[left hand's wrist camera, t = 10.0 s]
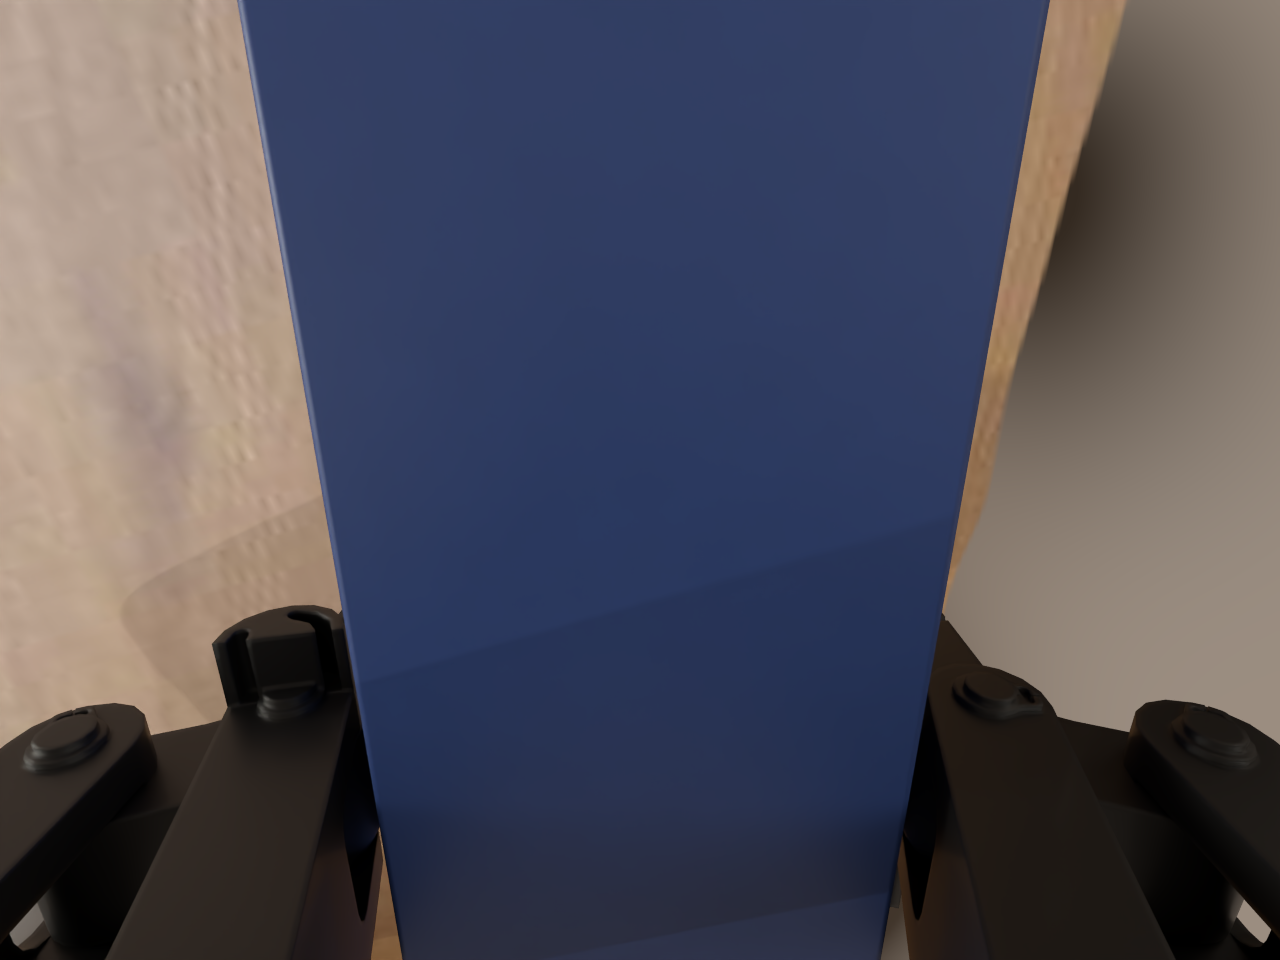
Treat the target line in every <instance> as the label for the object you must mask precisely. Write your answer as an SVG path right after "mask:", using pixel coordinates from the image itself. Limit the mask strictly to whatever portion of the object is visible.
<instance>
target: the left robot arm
mask: <svg viewBox="0 0 1280 960" xmlns="http://www.w3.org/2000/svg"><path fill="white" fill-rule="evenodd" d="M212 647H213V651H214V655H215V658H216V662H217V666H218V670H219V674H220V678H221V682H222V686H223V690H224V694H225V698H226V702H227V706H228V708H227V710H226V712H225V714H224V716H223V718H222V720H220V721H216V722H212V723H209V724H205V725H200V726H195V727H190V728H185V729H180V730H175V731H170V732H165V733H161V734H156V735H151V734H150V731H149V728H148V724H147V721H146V718H145V715H144V714H143V713H142V712H141V711H139V710H138V709H137V708H136V707H135V706H130V705H124V704H118V703H111V704H102V705H93V706H86V707H81V708H77V709H76V710H73V711H72V710H70V711H67V712H64V713H61V714H58V715H56V716H54V717H53V718H51V719H49V720H47V721H44V722H42V723H40V724H38V725H36V726H33V727H31V728H30V729H28V730H27V731H25V732H24V733H22V734H21V735H19V736H18V737H16V738H15V739H13V740H12V741H10V742H9V743H7V744H6V745H4V746H3V747H2V748H1V749H0V960H371V953H372V945H373V937H374V929H375V921H376V913H377V905H378V897H379V889H380V881H381V873H382V865H383V856H382V849H381V842H380V836H379V830H378V829H379V827H380V826H379V820H378V814H377V808H376V802H375V797H374V791H373V785H372V779H371V773H370V768H369V762H368V756H367V750H366V744H365V739H364V733H363V727H362V721H361V715H360V710H359V704H358V698H357V692H356V686H355V681H354V675H353V669H352V663H351V657H350V652H349V646H348V640H347V634H346V628H345V622H344V617H343V611H341V612H340V613H339V614H337V613H336V612H335V611H333V610H332V609H329V608H324V607H320V606H315V605H302V606H288V607H283V608H278V609H273V610H268V611H265V612H262V613H260V614H257V615H254V616H251V617H249V618H246V619H244V620H242V621H240V622H238V623H237V624H235V625H233V626H232V627H230V628H228V629H227V630H225V631H224V632H223V633H222V634H221V635H220V636H219V637H218V638H217V639H216V640H215V641H214V642H213V643H212ZM901 895H902V903H903V911H904V919H905V927H906V935H907V943H908V951H909V959H910V960H1280V745H1279V744H1278V743H1277V742H1276V741H1274V740H1273V739H1271V738H1270V737H1268V736H1267V735H1265V734H1264V733H1262V732H1261V731H1259V730H1258V729H1256V728H1255V727H1253V726H1252V725H1250V724H1248V723H1246V722H1244V721H1241V720H1239V719H1237V718H1235V717H1233V716H1230V715H1228V714H1227V713H1226V712H1223V711H1221V710H1218V709H1215V708H1212V707H1205V705H1201V704H1196V703H1191V702H1181V701H1172V700H1161V701H1155V702H1148V703H1145V704H1144V705H1143V706H1142V707H1141V708H1139V709H1138V710H1137V711H1136V712H1135V716H1134V719H1133V722H1132V726H1131V729H1130V732H1125V731H1120V730H1115V729H1110V728H1105V727H1100V726H1095V725H1090V724H1086V723H1081V722H1076V721H1072V720H1068V719H1064V718H1060V717H1057V715H1056V713H1055V711H1054V709H1053V707H1052V705H1051V704H1050V703H1049V702H1048V700H1047V699H1046V698H1045V697H1044V695H1043V694H1042V693H1041V692H1040V691H1039V690H1037V689H1036V688H1034V687H1033V686H1032V685H1030V684H1029V683H1027V682H1026V681H1024V680H1023V679H1021V678H1019V677H1016V676H1014V675H1012V674H1009V673H1007V672H1005V671H1002V670H1000V669H996V668H991V667H987V666H983V665H982V664H981V663H980V661H979V660H978V659H977V657H976V656H975V655H974V654H973V652H972V651H971V650H970V648H969V647H968V646H967V645H966V643H965V642H964V641H963V639H962V638H961V637H960V635H959V634H958V633H957V632H956V630H955V629H954V628H953V626H952V625H951V624H950V623H949V621H945V616H944V615H943V613H942V614H941V619H940V625H939V631H938V636H937V642H936V648H935V653H934V659H933V665H932V670H931V676H930V682H929V687H928V693H927V699H926V704H925V710H924V716H923V721H922V727H921V733H920V738H919V744H918V750H917V755H916V761H915V767H914V772H913V778H912V784H911V789H910V795H909V801H908V806H907V812H906V818H905V823H904V829H903V835H902V840H901V846H900V852H899V857H898V863H897V869H896V874H895V880H894V886H893V891H892V897H891V903H890V907H895V908H899V903H900V898H901ZM1243 900H1245V901H1246V902H1247V903H1248V904H1249V905H1250V906H1251V907H1252V909H1253V910H1254V911H1255V912H1256V913H1257V914H1258V915H1259V916H1260V917H1261V919H1262V920H1263V921H1264V922H1265V923H1266V924H1267V925H1268V926H1269V927H1270V929H1271V932H1270V934H1269V936H1268V938H1267V940H1266V941H1265V942H1264V943H1262V942H1260V941H1259V940H1258V939H1257V938H1256V937H1255V936H1254V935H1253V934H1251V933H1250V932H1249V931H1248V930H1247V928H1246V927H1245V926H1244V925H1243V924H1242V923H1241V921H1240V920H1239V919H1238V918H1237V915H1238V912H1239V910H1240V907H1241V905H1242V903H1243Z"/></svg>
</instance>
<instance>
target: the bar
mask: <svg viewBox="0 0 1280 960" xmlns="http://www.w3.org/2000/svg"><path fill="white" fill-rule="evenodd" d="M237 2H238V8H239V13H240V19H241V25H242V31H243V37H244V42H245V48H246V54H247V60H248V66H249V71H250V77H251V83H252V89H253V95H254V100H255V106H256V112H257V118H258V124H259V129H260V135H261V141H262V147H263V153H264V158H265V164H266V170H267V176H268V182H269V187H270V193H271V199H272V205H273V211H274V216H275V222H276V228H277V234H278V240H279V245H280V251H281V257H282V263H283V269H284V274H285V280H286V286H287V292H288V298H289V303H290V309H291V315H292V321H293V327H294V332H295V338H296V344H297V350H298V356H299V361H300V367H301V373H302V379H303V385H304V390H305V396H306V402H307V408H308V414H309V419H310V425H311V431H312V437H313V443H314V448H315V454H316V460H317V466H318V472H319V477H320V483H321V489H322V495H323V501H324V506H325V512H326V518H327V524H328V530H329V535H330V541H331V547H332V553H333V559H334V564H335V570H336V576H337V582H338V588H339V593H340V599H341V605H342V611H343V617H344V622H345V628H346V634H347V640H348V646H349V652H350V657H351V663H352V669H353V675H354V681H355V686H356V692H357V698H358V704H359V710H360V715H361V721H362V727H363V733H364V739H365V744H366V750H367V756H368V762H369V768H370V773H371V779H372V785H373V791H374V797H375V802H376V808H377V814H378V820H379V826H380V831H381V837H382V843H383V849H384V855H385V860H386V866H387V872H388V878H389V884H390V889H391V895H392V901H393V907H394V913H395V918H396V924H397V930H398V936H399V942H400V947H401V953H402V959H403V960H880V959H881V954H882V948H883V942H884V937H885V931H886V925H887V920H888V914H889V908H890V903H891V897H892V891H893V886H894V880H895V874H896V869H897V863H898V857H899V852H900V846H901V840H902V835H903V829H904V823H905V818H906V812H907V806H908V801H909V795H910V789H911V784H912V778H913V772H914V767H915V761H916V755H917V750H918V744H919V738H920V733H921V727H922V721H923V716H924V710H925V704H926V699H927V693H928V687H929V682H930V676H931V670H932V665H933V659H934V653H935V648H936V642H937V636H938V631H939V625H940V619H941V614H942V608H943V602H944V597H945V591H946V586H947V580H948V574H949V569H950V563H951V557H952V552H953V546H954V540H955V535H956V529H957V523H958V518H959V512H960V506H961V501H962V495H963V489H964V484H965V478H966V472H967V467H968V461H969V455H970V450H971V444H972V438H973V433H974V427H975V421H976V416H977V410H978V404H979V399H980V393H981V387H982V382H983V376H984V370H985V365H986V359H987V353H988V348H989V342H990V336H991V331H992V325H993V319H994V314H995V308H996V302H997V297H998V291H999V285H1000V280H1001V274H1002V268H1003V263H1004V257H1005V251H1006V246H1007V240H1008V234H1009V229H1010V223H1011V217H1012V212H1013V206H1014V200H1015V195H1016V189H1017V183H1018V178H1019V172H1020V166H1021V161H1022V155H1023V149H1024V144H1025V138H1026V132H1027V127H1028V121H1029V115H1030V110H1031V104H1032V98H1033V93H1034V87H1035V81H1036V76H1037V70H1038V64H1039V59H1040V53H1041V47H1042V42H1043V36H1044V30H1045V25H1046V19H1047V13H1048V8H1049V2H1050V0H237Z"/></svg>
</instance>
